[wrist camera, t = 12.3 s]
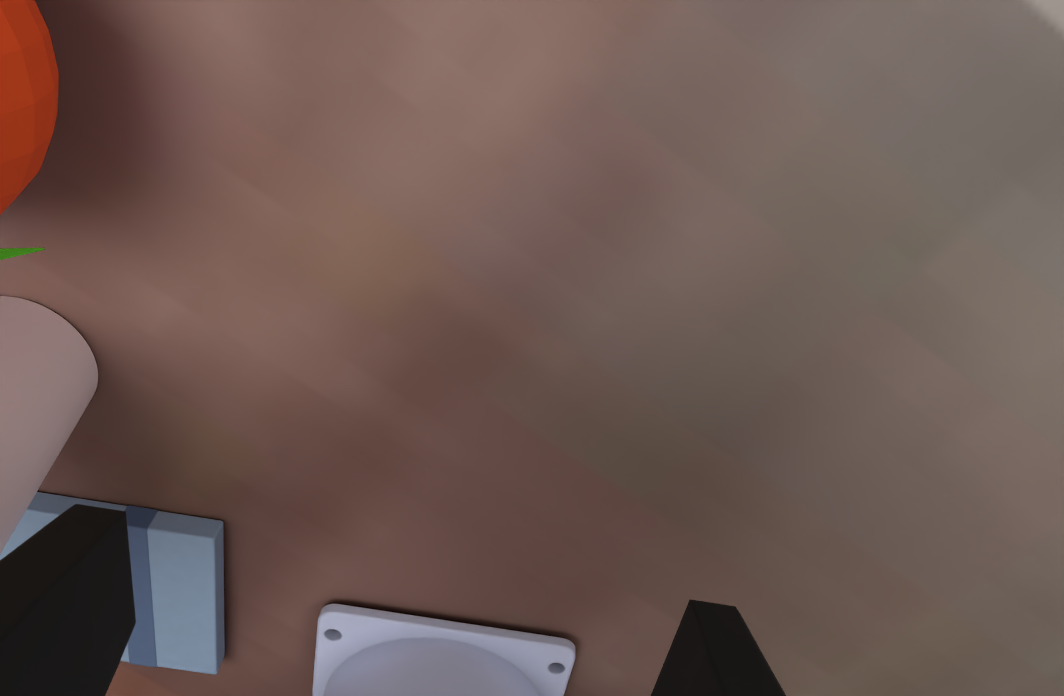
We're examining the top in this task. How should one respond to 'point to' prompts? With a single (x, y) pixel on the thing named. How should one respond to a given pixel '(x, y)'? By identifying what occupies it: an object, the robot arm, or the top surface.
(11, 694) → the robot arm
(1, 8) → the clementine
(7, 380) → the smoothie
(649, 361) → the top surface
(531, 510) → the top surface
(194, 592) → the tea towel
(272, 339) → the top surface
